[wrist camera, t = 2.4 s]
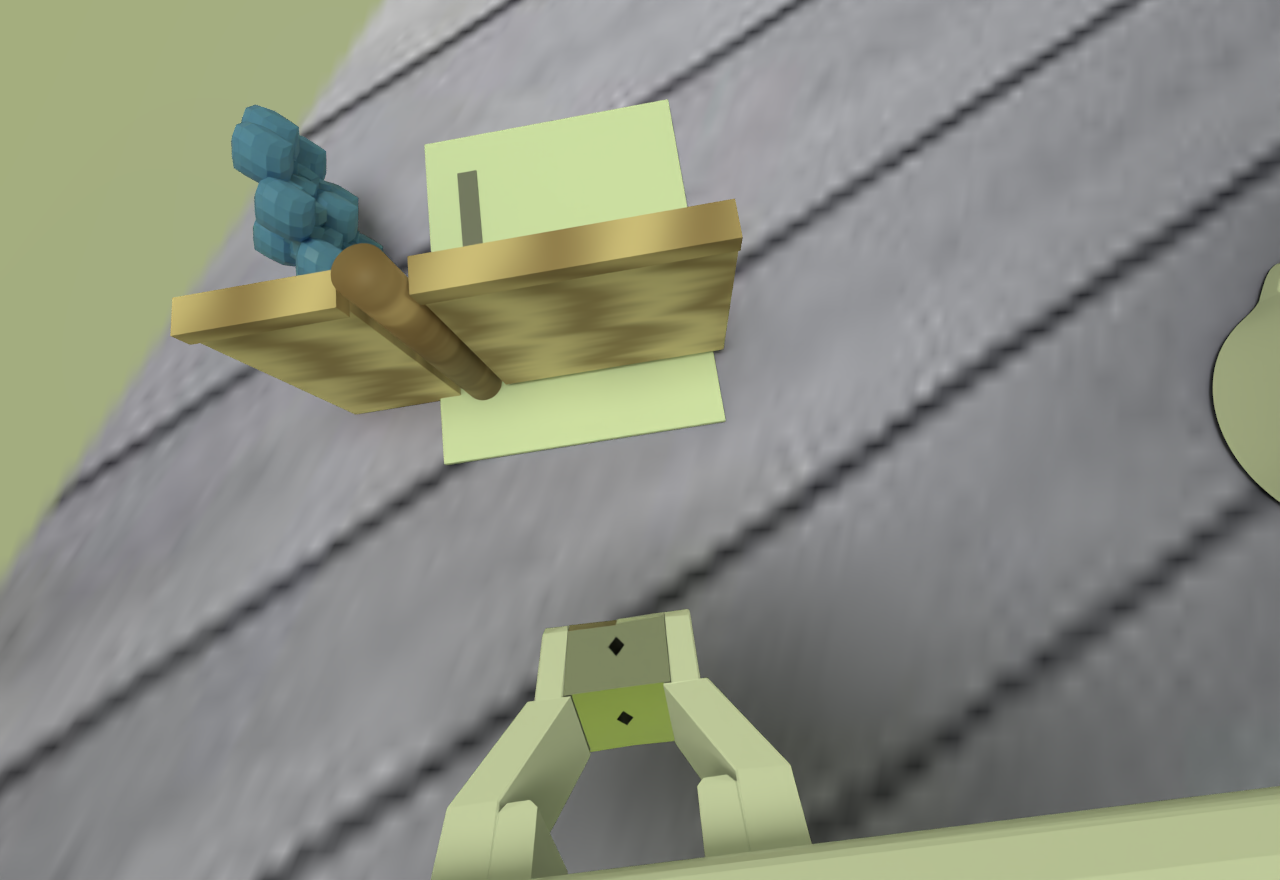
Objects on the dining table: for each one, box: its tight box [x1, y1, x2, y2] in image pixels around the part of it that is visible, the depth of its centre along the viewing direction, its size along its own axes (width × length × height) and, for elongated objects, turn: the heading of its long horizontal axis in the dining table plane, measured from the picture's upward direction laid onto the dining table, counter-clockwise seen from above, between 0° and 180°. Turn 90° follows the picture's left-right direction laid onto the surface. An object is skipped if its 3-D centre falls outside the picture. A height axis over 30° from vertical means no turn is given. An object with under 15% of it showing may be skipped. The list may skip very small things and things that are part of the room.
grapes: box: [231, 105, 383, 276], centre depth 35 cm, size 12×7×12 cm, turn 22°
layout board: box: [425, 100, 725, 465], centre depth 39 cm, size 18×24×1 cm
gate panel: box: [408, 199, 743, 384], centre depth 30 cm, size 14×2×13 cm, turn 98°
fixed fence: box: [171, 243, 502, 414], centre depth 31 cm, size 10×2×15 cm, turn 98°
